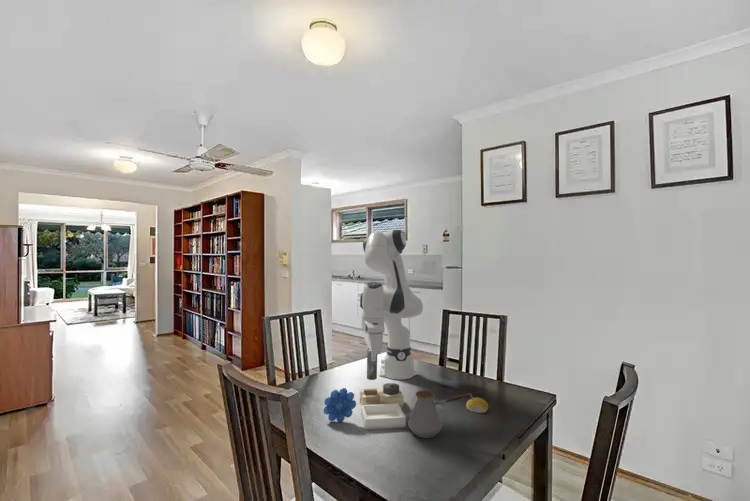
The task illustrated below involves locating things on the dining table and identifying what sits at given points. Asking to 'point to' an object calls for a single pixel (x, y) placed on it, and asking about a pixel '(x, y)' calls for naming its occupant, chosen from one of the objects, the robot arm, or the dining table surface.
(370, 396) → the plate
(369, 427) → the tray
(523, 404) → the dining table surface
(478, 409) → the bread roll
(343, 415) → the blue lobed round piece
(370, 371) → the pin
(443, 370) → the dining table surface
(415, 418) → the coffee pot
